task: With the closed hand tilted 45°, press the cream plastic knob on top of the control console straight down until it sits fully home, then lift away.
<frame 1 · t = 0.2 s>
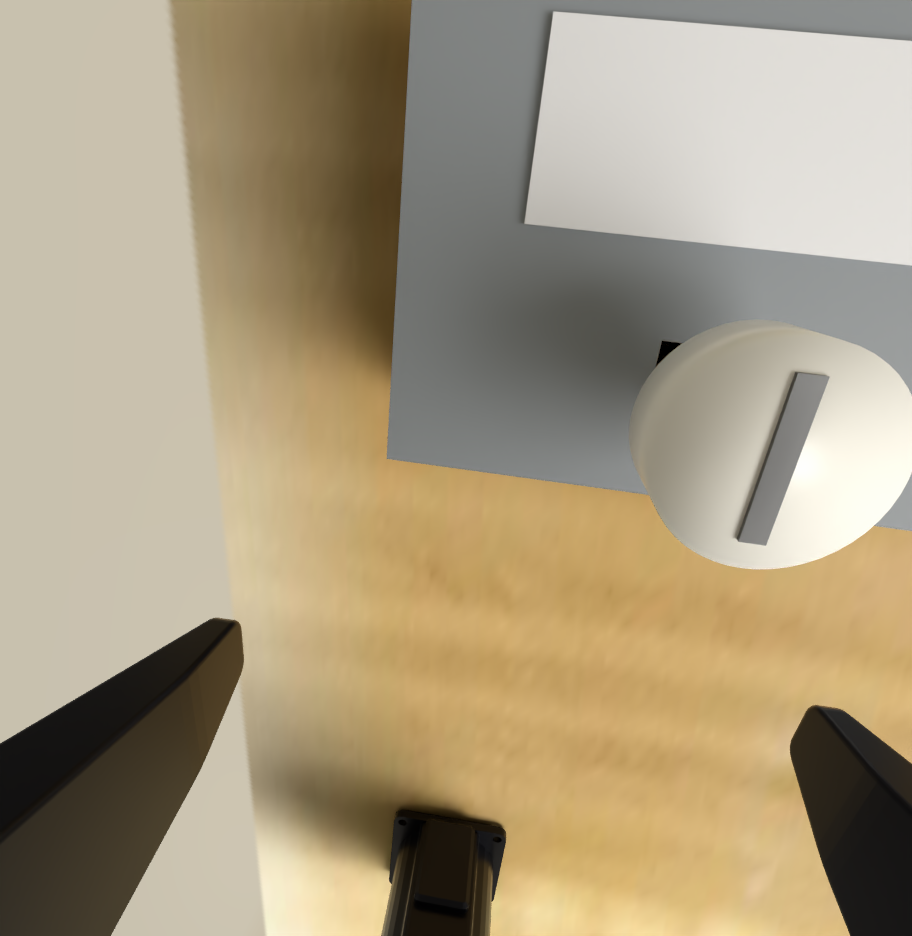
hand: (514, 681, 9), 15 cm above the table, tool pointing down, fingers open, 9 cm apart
console: (662, 260, 19), on the table
knob: (721, 414, 12), point 9 cm above the table, slide at 2.5 cm
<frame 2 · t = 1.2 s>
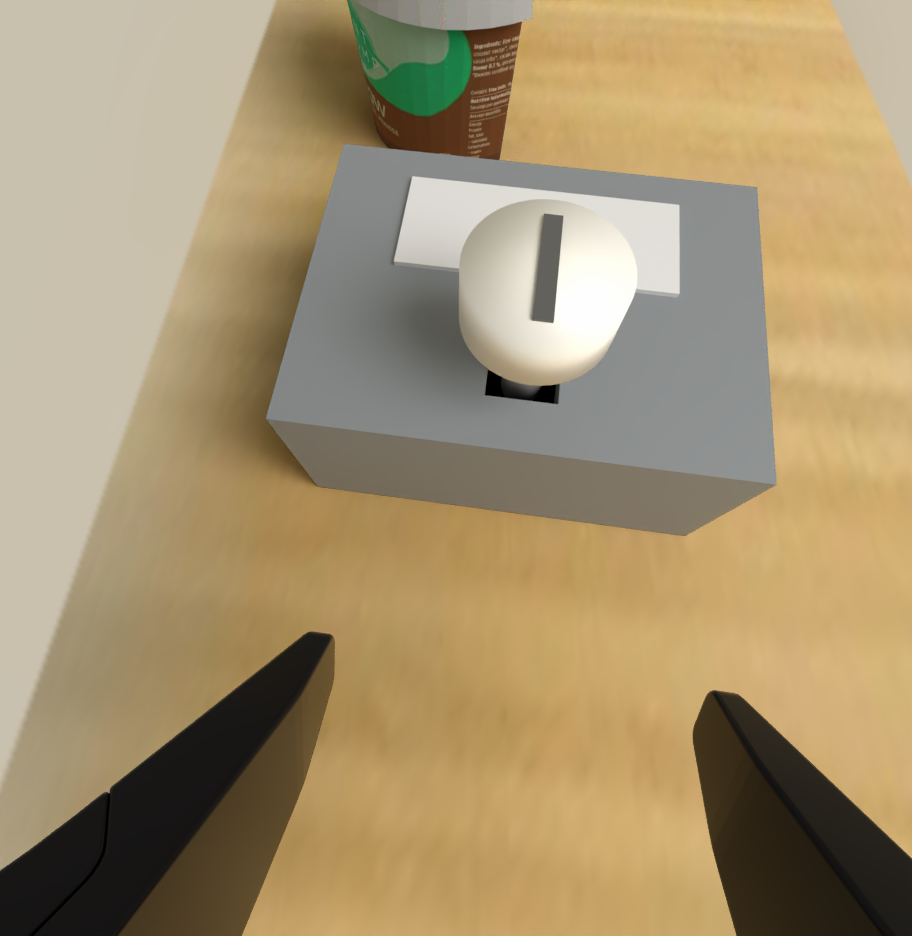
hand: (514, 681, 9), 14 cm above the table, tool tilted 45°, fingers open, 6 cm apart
food container: (411, 131, 32), on the table
console: (512, 388, 26), on the table
knob: (532, 335, 16), point 9 cm above the table, slide at 2.5 cm
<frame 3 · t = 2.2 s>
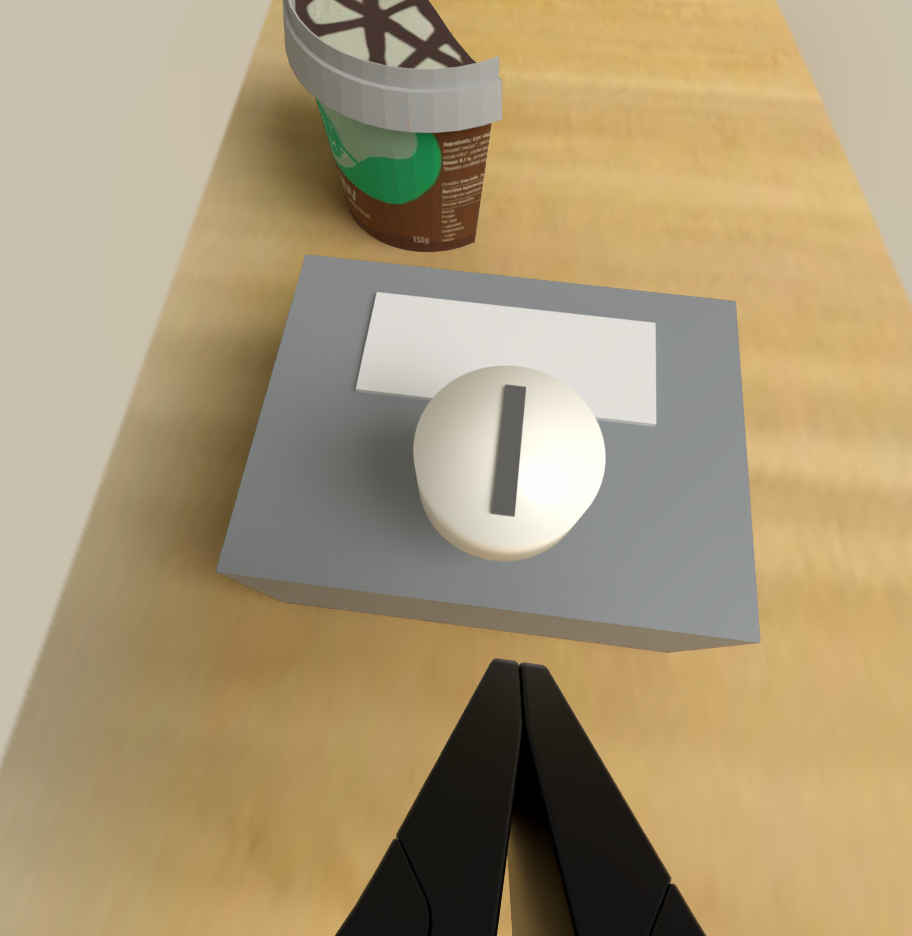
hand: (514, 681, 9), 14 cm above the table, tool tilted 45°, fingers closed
food container: (385, 209, 31), on the table
console: (488, 490, 25), on the table
knob: (498, 489, 15), point 9 cm above the table, slide at 2.5 cm
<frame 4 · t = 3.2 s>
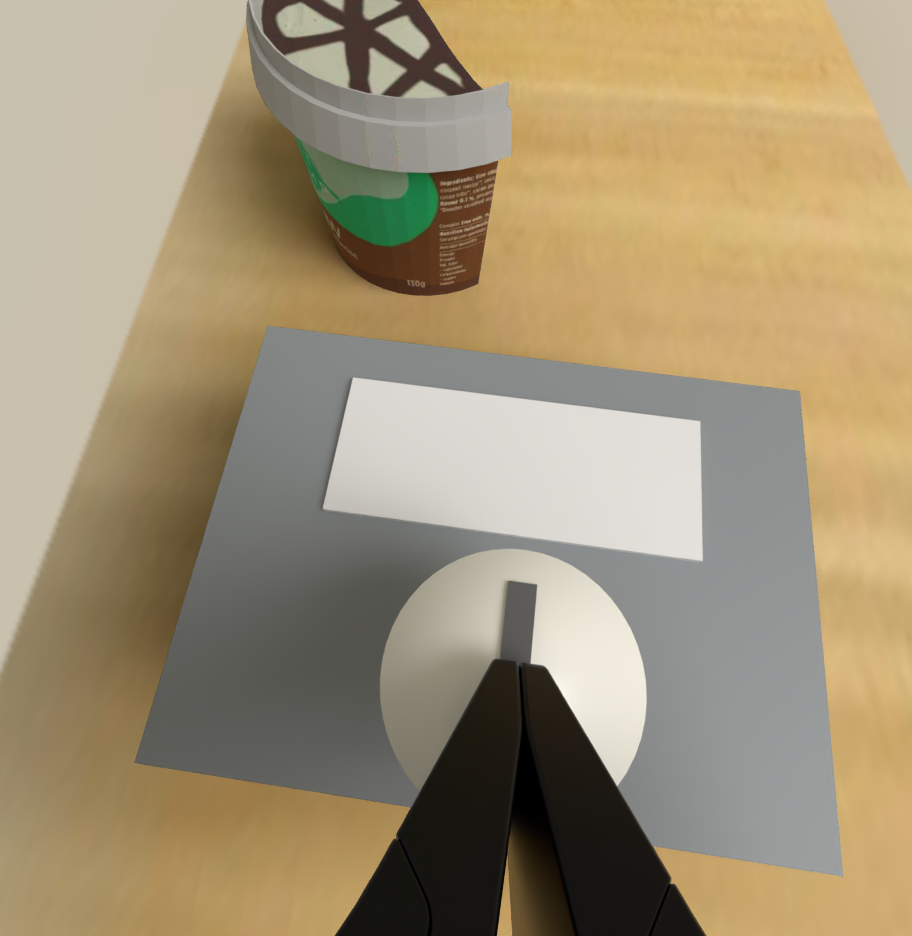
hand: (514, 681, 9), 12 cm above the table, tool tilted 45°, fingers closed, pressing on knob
food container: (376, 243, 27), on the table
console: (490, 590, 21), on the table
knob: (498, 677, 12), point 9 cm above the table, slide at 2.2 cm, touching gripper
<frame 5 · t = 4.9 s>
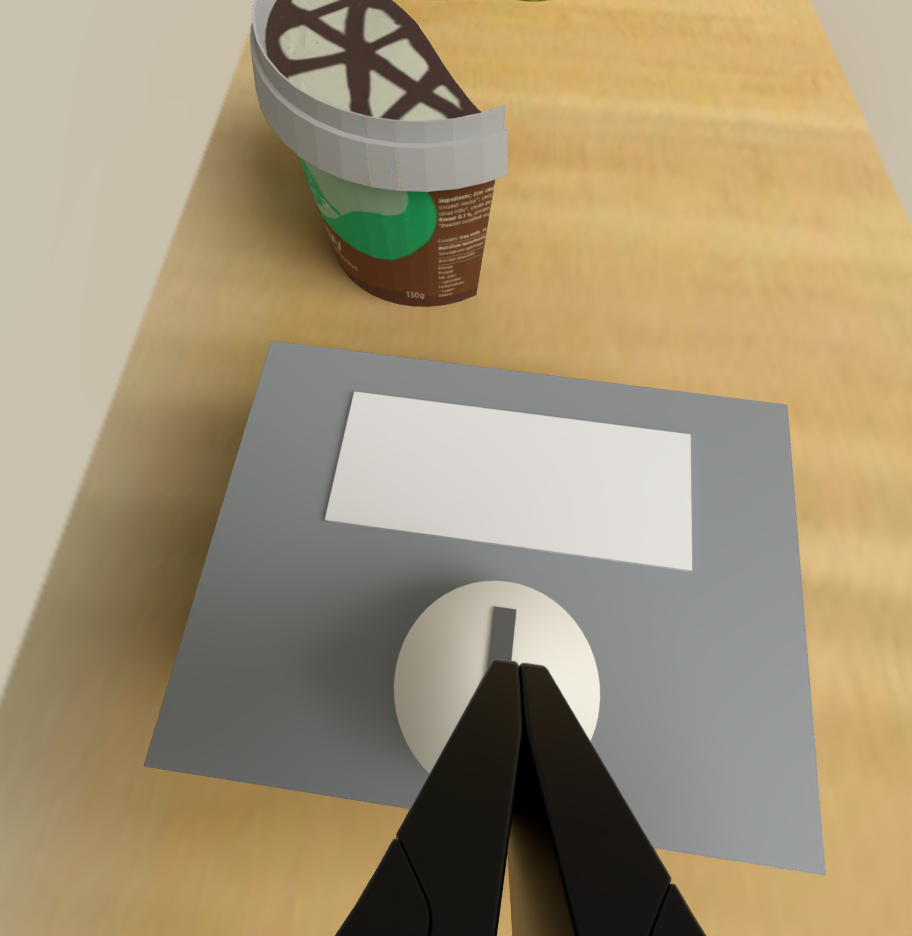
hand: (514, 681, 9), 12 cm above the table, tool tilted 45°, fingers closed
food container: (376, 255, 27), on the table
console: (487, 596, 21), on the table
knob: (488, 681, 14), point 6 cm above the table, slide at -0.1 cm
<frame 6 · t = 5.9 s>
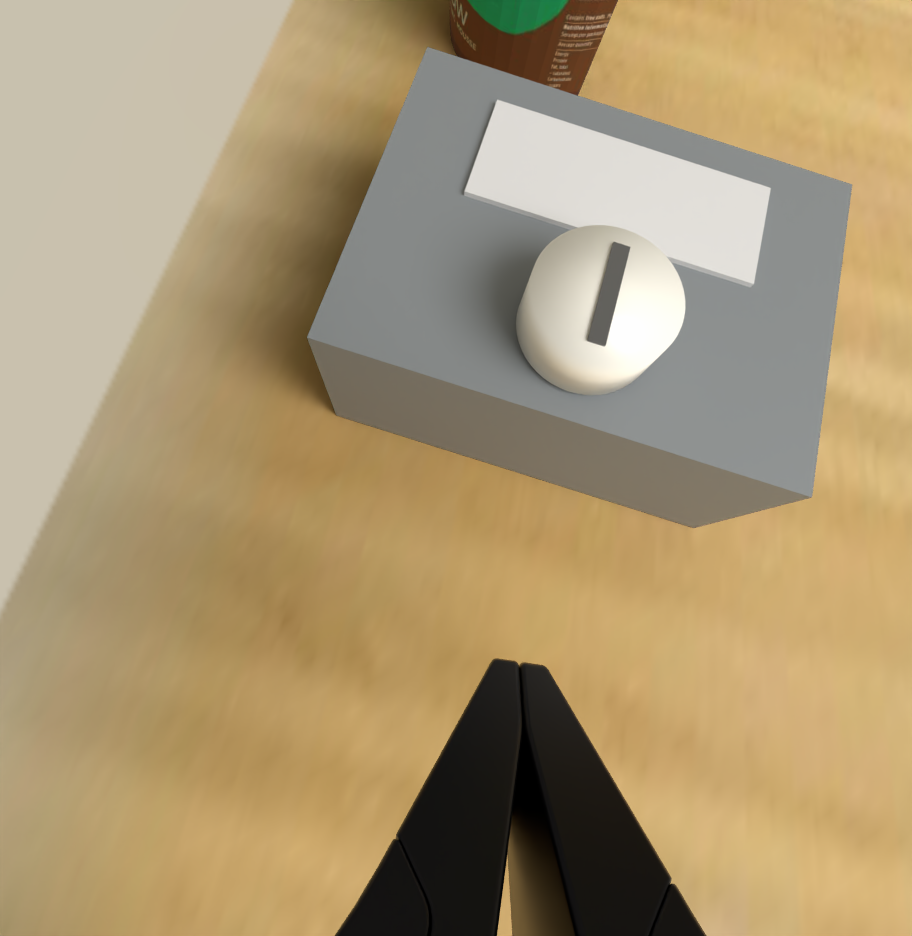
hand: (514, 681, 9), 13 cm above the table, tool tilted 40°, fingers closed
food container: (488, 48, 29), on the table
console: (550, 349, 25), on the table
knob: (576, 343, 18), point 6 cm above the table, slide at -0.1 cm
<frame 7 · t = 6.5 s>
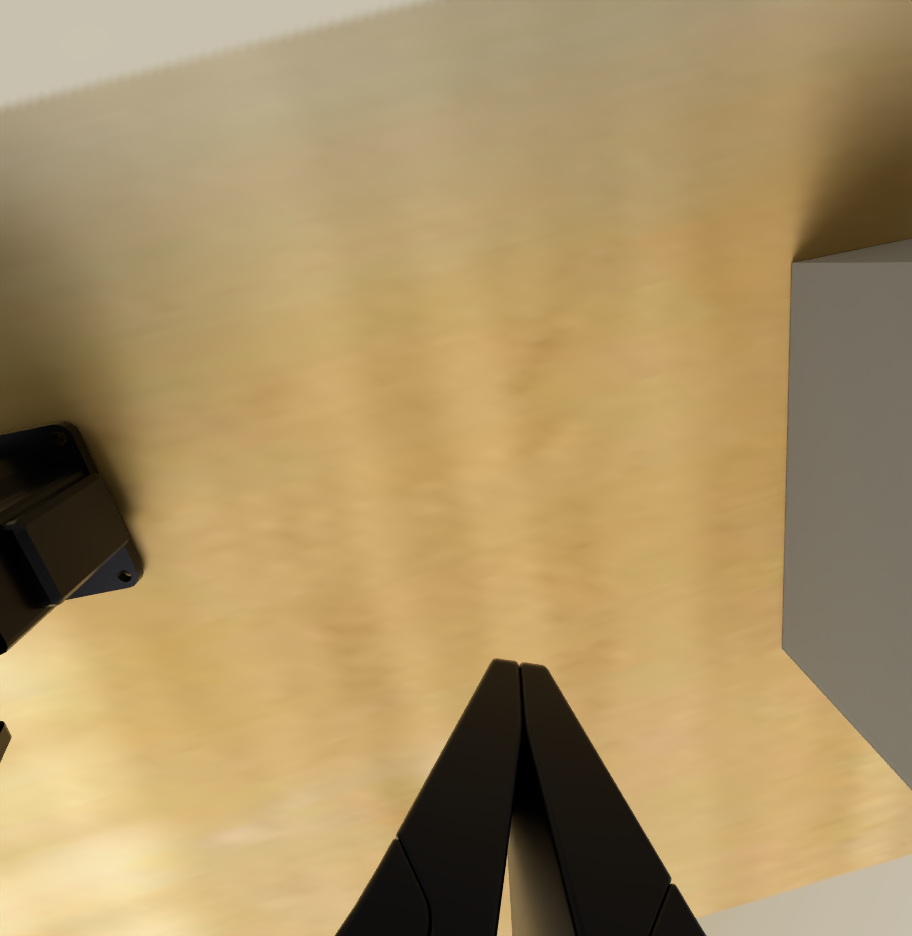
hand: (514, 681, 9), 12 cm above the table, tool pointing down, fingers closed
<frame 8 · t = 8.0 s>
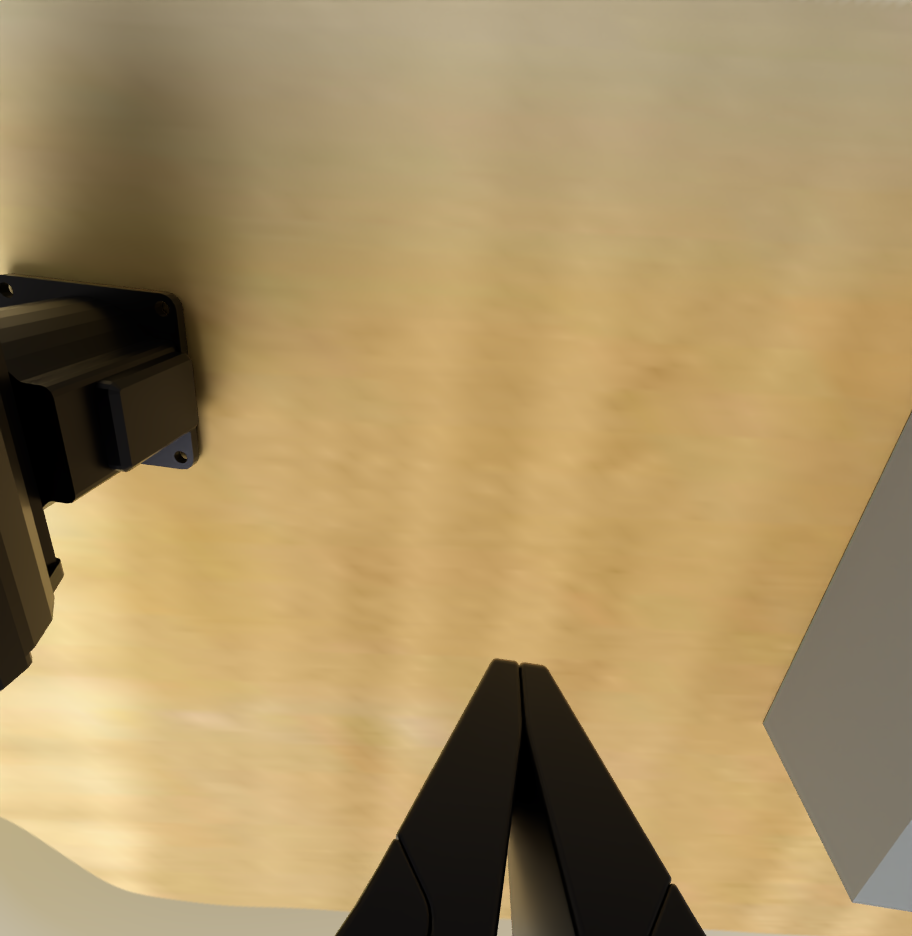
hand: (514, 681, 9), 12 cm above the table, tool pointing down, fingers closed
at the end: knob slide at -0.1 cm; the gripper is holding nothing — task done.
